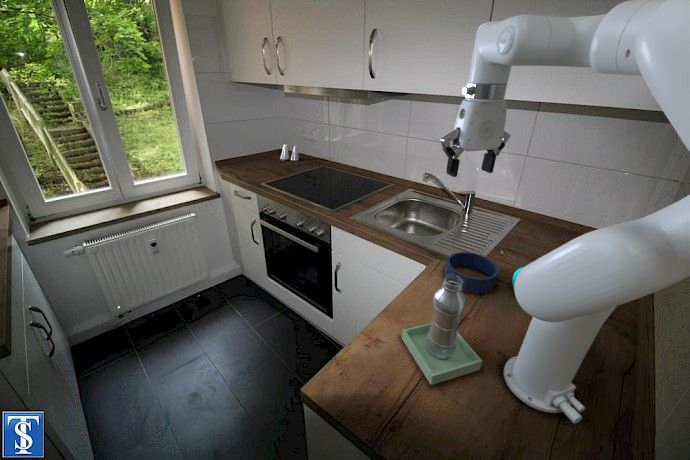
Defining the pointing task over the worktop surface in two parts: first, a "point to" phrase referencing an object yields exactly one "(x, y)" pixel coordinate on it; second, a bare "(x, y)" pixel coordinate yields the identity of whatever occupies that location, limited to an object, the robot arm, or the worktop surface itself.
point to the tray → (436, 367)
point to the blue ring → (476, 262)
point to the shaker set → (286, 155)
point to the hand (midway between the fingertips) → (469, 173)
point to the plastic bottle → (446, 317)
